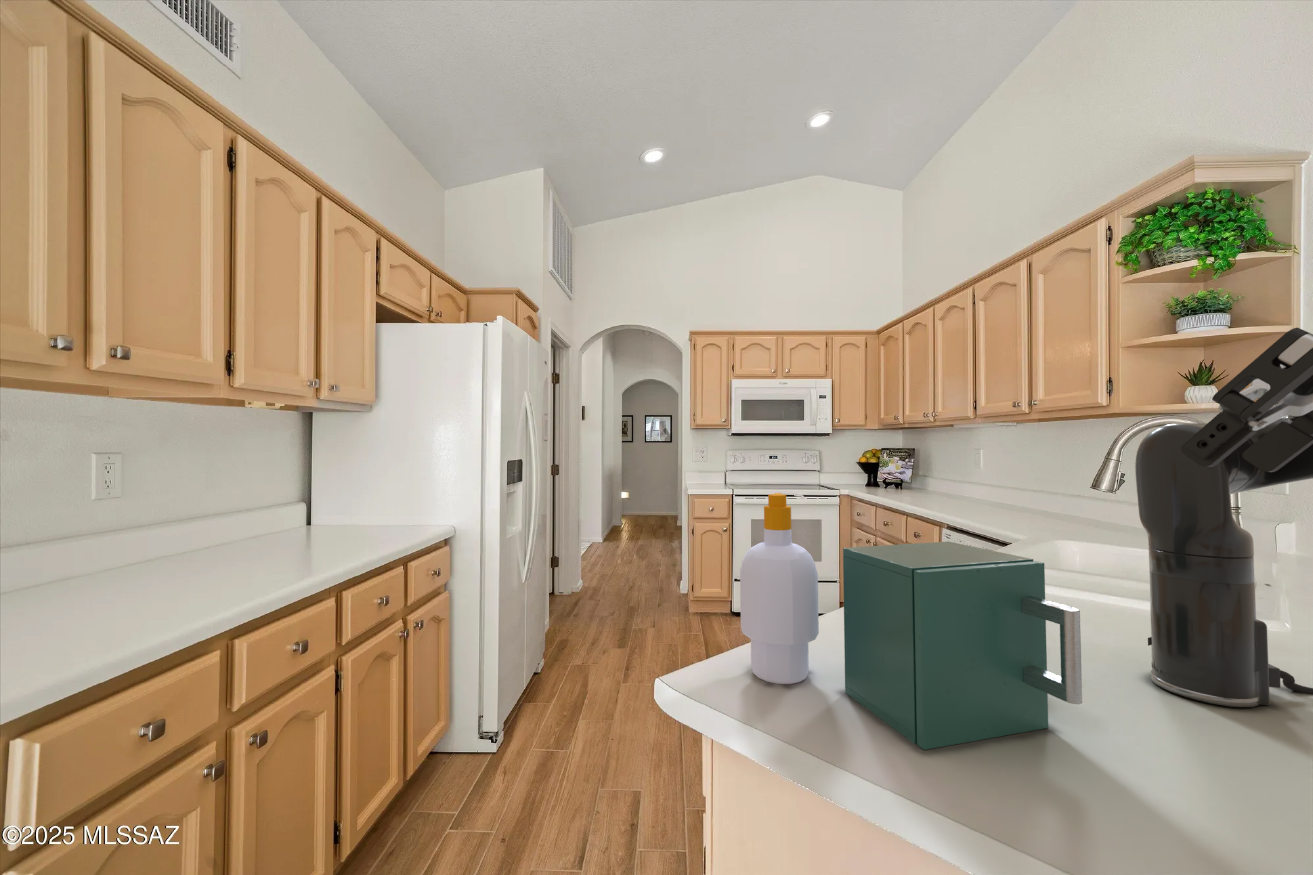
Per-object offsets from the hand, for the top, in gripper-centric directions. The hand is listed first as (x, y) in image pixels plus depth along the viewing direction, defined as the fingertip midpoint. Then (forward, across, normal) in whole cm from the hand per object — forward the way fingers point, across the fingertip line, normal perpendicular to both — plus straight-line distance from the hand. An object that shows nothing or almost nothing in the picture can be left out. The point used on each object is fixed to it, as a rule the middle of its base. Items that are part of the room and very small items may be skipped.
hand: (1225, 462), depth 42 cm
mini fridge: (+38, -3, -2) cm, 38 cm away
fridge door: (+31, -4, -9) cm, 33 cm away
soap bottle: (+48, -14, +8) cm, 51 cm away
